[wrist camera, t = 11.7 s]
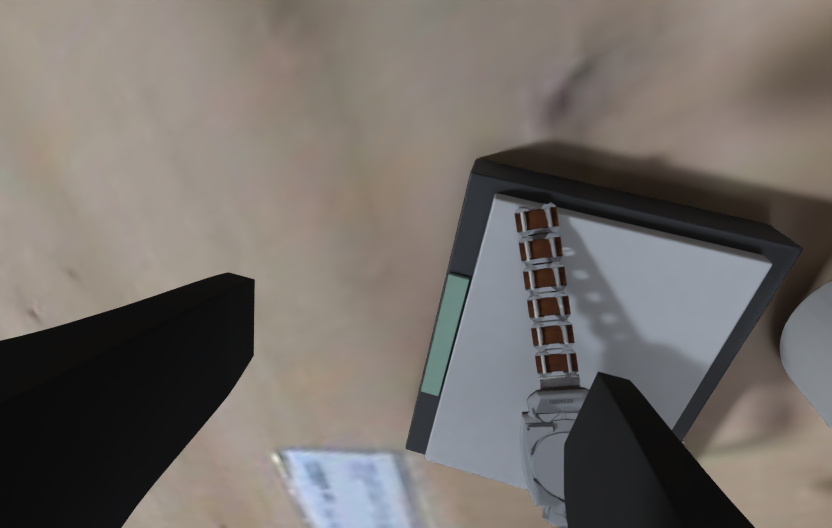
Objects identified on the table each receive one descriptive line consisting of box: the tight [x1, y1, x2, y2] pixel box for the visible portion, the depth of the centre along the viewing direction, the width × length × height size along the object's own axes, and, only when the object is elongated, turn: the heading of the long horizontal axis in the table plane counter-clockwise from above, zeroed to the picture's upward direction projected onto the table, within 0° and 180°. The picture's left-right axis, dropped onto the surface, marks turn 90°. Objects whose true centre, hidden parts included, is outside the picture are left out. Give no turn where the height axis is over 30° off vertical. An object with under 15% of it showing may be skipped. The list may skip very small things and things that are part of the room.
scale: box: [406, 159, 802, 490], centre depth 19 cm, size 14×11×3 cm
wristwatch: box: [515, 202, 589, 528], centre depth 17 cm, size 4×14×5 cm, turn 14°
